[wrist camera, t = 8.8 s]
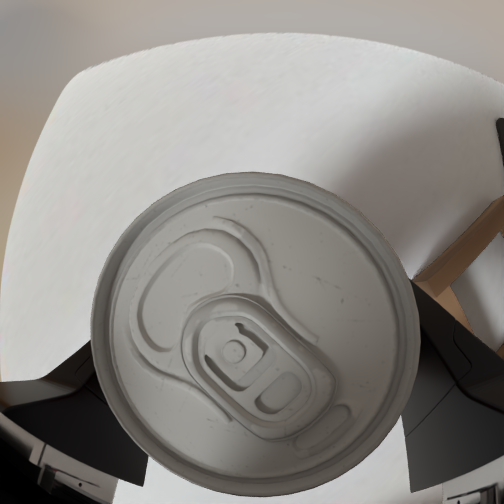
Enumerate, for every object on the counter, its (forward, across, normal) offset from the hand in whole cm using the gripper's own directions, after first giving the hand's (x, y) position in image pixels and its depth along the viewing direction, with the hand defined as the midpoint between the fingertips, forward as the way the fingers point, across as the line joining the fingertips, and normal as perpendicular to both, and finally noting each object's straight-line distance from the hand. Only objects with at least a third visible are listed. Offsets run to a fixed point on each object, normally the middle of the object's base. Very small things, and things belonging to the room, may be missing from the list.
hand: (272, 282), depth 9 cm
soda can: (+4, 0, +6) cm, 7 cm away
